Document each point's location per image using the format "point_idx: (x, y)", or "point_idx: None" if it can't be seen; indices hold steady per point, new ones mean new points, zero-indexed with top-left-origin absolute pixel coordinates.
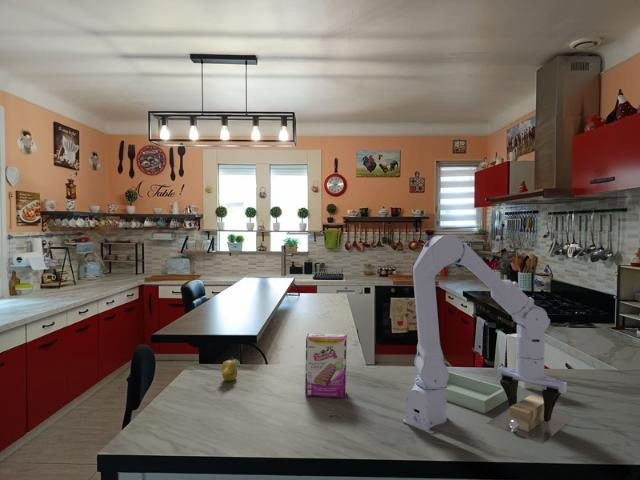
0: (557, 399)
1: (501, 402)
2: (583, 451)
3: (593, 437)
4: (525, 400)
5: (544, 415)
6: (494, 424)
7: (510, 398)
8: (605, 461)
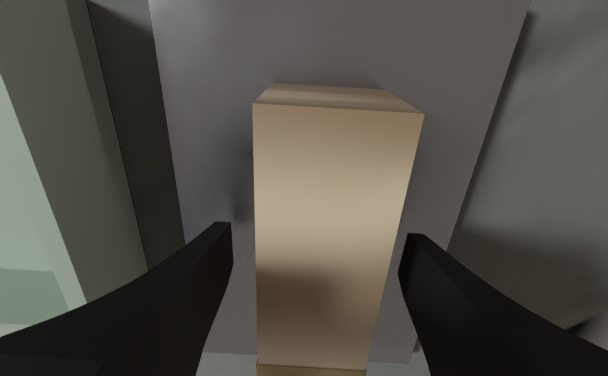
0: (547, 323)
1: (89, 110)
2: (531, 287)
3: (602, 136)
4: (276, 273)
5: (409, 303)
6: (227, 343)
7: (203, 336)
8: (597, 304)
